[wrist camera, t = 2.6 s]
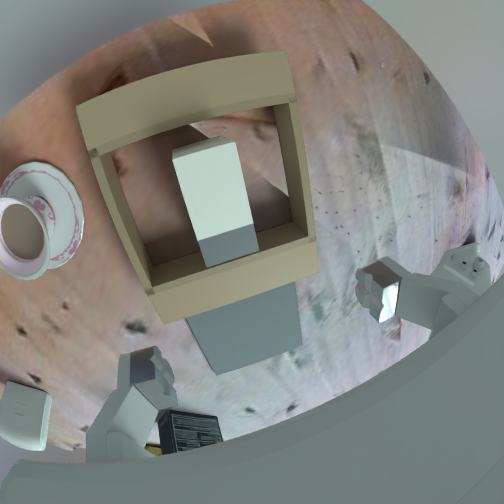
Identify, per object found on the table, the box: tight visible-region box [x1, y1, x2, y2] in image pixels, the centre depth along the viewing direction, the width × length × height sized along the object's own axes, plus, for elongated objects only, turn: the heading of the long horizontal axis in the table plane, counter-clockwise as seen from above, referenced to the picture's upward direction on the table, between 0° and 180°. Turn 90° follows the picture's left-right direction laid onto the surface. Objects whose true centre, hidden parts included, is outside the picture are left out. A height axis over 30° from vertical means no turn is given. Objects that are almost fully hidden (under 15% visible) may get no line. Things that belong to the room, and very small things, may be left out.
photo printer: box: [0, 381, 52, 451], centre depth 26 cm, size 10×4×12 cm, turn 71°
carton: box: [76, 51, 319, 324], centre depth 24 cm, size 18×23×4 cm
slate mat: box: [186, 281, 303, 375], centre depth 36 cm, size 14×13×1 cm
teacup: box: [0, 161, 85, 280], centre depth 19 cm, size 12×12×6 cm
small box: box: [158, 410, 223, 455], centre depth 40 cm, size 11×6×10 cm, turn 56°
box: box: [172, 136, 259, 267], centre depth 23 cm, size 4×9×7 cm, turn 12°
